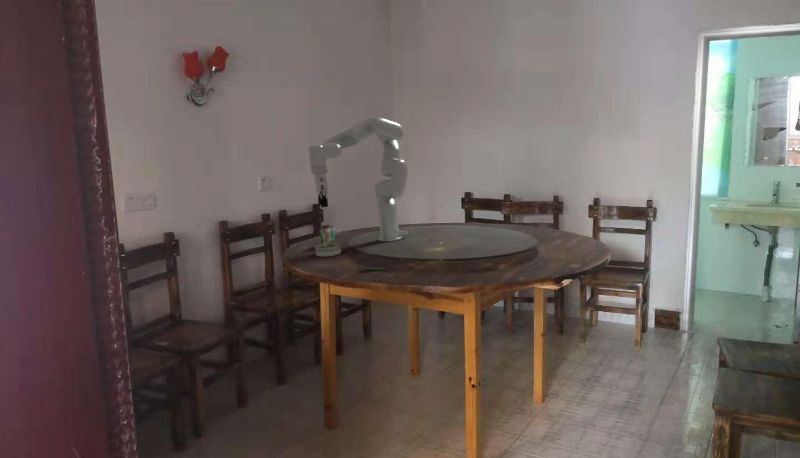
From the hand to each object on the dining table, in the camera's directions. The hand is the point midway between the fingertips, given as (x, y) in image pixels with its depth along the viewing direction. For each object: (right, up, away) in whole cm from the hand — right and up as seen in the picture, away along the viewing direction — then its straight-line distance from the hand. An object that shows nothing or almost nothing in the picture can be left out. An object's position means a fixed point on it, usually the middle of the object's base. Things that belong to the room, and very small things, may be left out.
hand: (323, 205), depth 305 cm
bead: (+2, -23, +4) cm, 24 cm away
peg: (+2, -23, +4) cm, 24 cm away
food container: (+1, -20, +24) cm, 31 cm away
